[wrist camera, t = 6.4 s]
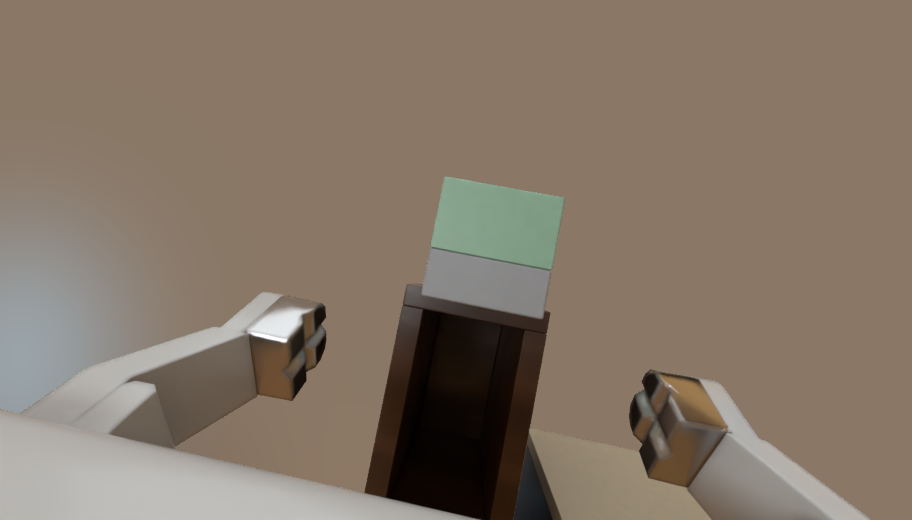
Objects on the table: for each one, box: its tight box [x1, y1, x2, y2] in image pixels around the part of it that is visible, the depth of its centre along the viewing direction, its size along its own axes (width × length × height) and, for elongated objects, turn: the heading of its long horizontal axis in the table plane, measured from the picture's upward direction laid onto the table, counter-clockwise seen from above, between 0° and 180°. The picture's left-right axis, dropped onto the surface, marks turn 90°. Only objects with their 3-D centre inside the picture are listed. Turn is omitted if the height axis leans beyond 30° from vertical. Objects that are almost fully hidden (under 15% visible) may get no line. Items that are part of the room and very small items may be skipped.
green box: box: [421, 177, 565, 319], centre depth 23 cm, size 22×4×4 cm, turn 176°
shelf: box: [365, 284, 550, 520], centre depth 27 cm, size 14×8×26 cm, turn 176°
